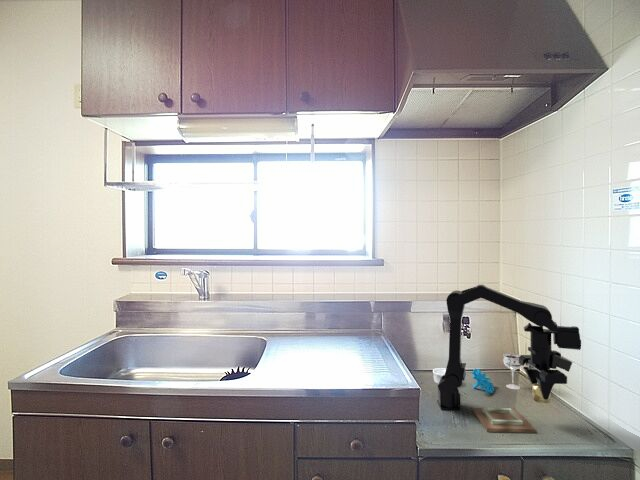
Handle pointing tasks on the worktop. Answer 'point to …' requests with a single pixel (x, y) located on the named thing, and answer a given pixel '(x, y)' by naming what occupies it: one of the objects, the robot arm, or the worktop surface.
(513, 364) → the wineglass
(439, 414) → the worktop surface
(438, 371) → the ramekin
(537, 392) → the tan two-tone cylinder
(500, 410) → the carrier board
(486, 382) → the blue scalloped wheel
